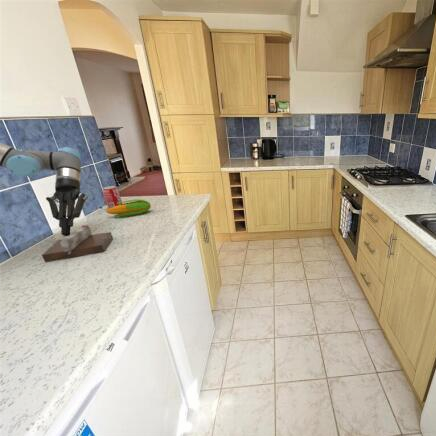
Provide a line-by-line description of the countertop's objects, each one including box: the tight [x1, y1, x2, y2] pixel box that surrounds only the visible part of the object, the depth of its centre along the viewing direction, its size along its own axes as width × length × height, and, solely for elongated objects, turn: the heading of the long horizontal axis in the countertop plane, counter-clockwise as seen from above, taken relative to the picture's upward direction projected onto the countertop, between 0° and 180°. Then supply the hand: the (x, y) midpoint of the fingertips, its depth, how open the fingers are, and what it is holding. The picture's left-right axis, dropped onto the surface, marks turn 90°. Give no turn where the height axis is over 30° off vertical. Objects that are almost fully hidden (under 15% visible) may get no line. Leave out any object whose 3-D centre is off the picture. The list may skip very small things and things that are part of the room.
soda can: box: [102, 185, 123, 209], centre depth 135 cm, size 7×7×12 cm
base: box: [41, 231, 114, 263], centre depth 94 cm, size 18×18×3 cm
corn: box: [105, 199, 151, 218], centre depth 126 cm, size 7×8×20 cm
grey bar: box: [60, 224, 93, 252], centre depth 93 cm, size 14×2×4 cm, turn 11°
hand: (65, 234), depth 92 cm, fingers closed
